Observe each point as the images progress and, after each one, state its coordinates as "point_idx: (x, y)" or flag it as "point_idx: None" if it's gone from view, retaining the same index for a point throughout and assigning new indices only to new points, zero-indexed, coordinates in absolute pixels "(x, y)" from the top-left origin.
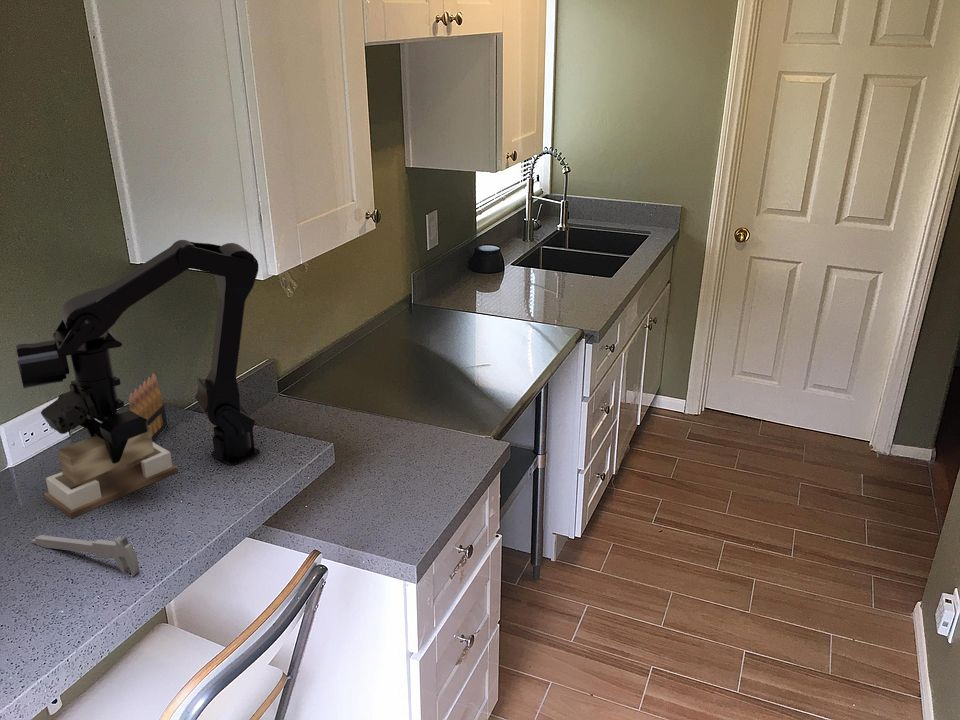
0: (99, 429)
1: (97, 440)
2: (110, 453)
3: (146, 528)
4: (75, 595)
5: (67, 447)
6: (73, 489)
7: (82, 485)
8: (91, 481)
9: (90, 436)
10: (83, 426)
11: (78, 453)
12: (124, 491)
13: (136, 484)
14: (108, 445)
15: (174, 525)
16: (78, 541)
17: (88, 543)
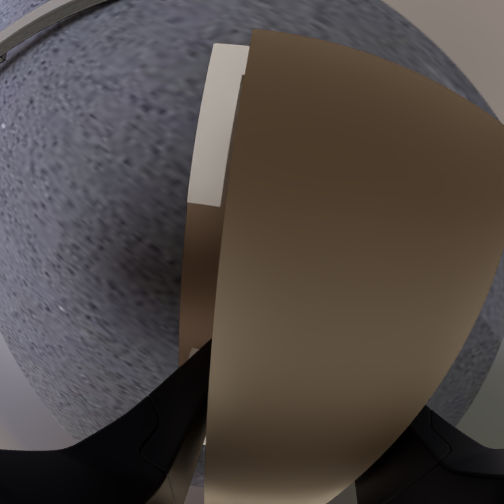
0: (389, 481)
1: (328, 438)
2: (177, 377)
3: (23, 184)
4: (14, 6)
5: (497, 227)
6: (234, 81)
7: (227, 129)
8: (222, 183)
9: (424, 422)
10: (480, 477)
11: (274, 178)
12: (184, 266)
13: (182, 311)
14: (122, 426)
15: (5, 230)
16: (31, 16)
17: (4, 33)
